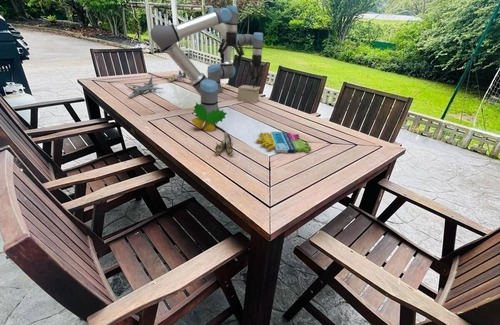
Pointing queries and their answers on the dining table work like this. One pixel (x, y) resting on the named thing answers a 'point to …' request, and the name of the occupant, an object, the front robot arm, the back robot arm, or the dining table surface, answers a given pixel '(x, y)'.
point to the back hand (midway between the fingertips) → (254, 84)
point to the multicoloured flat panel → (283, 142)
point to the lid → (249, 86)
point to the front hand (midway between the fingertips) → (230, 64)
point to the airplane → (143, 88)
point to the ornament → (207, 117)
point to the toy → (175, 77)
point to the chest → (248, 95)
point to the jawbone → (224, 145)
